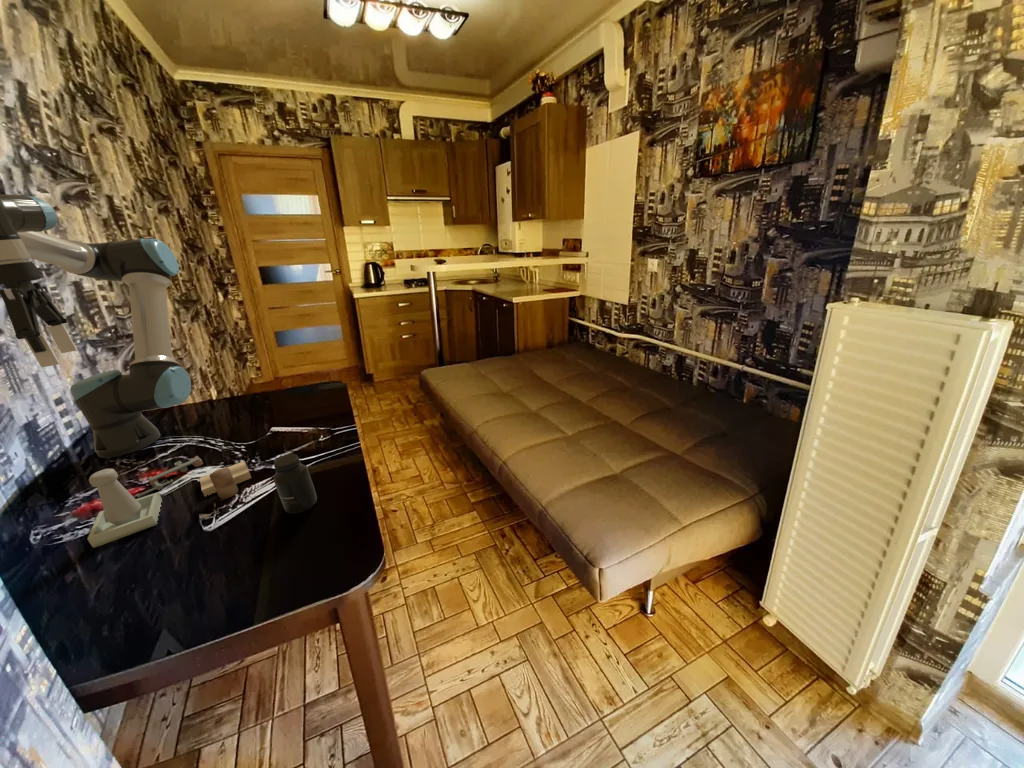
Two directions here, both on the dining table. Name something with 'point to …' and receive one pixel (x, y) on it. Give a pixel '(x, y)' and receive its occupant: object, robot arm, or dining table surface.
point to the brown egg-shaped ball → (224, 483)
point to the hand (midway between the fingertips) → (60, 358)
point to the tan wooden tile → (238, 473)
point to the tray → (110, 532)
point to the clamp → (179, 465)
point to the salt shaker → (115, 498)
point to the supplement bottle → (294, 484)
